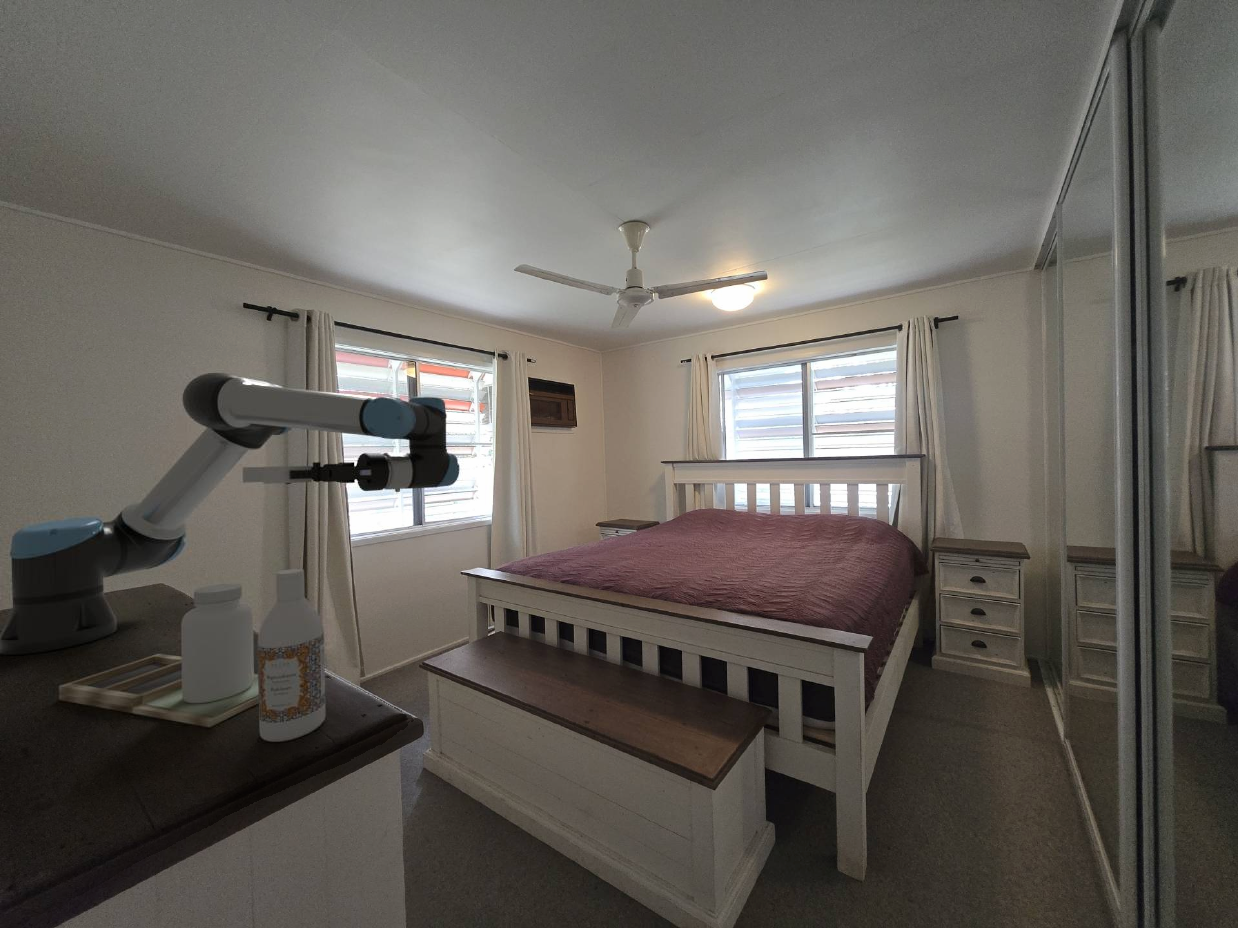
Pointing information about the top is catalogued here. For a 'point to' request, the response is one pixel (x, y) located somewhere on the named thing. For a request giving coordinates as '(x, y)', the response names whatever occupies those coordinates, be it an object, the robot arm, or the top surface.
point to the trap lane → (154, 692)
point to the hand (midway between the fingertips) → (252, 475)
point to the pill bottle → (217, 645)
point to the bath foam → (291, 663)
